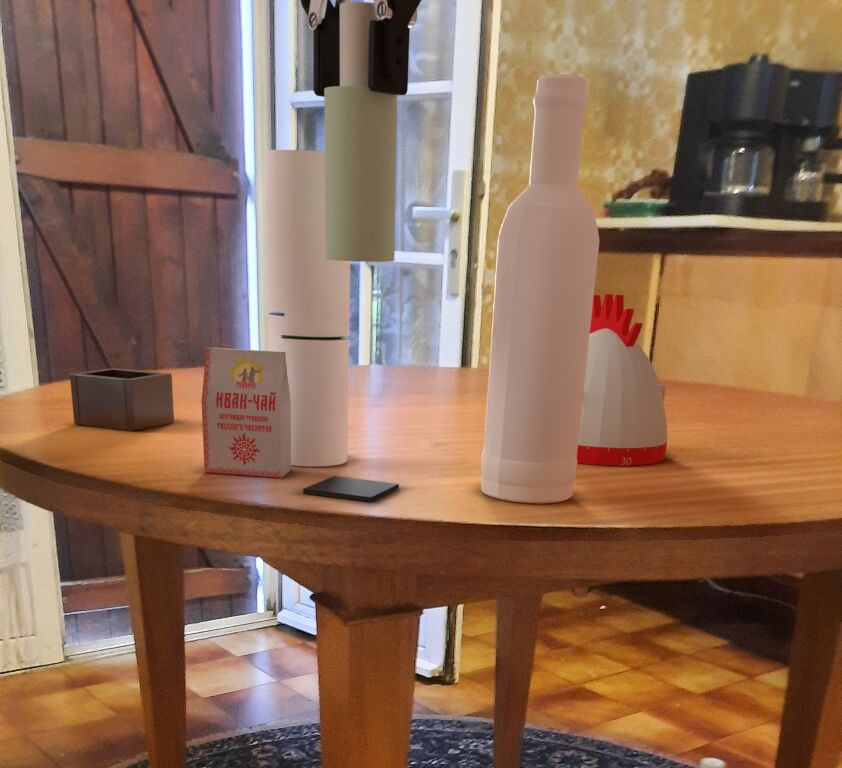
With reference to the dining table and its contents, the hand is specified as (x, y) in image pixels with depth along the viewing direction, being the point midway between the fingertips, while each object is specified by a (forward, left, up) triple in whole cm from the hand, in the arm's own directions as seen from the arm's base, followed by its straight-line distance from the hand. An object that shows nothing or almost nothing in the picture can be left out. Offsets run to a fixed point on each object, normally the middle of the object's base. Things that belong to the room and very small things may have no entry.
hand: (359, 92), depth 76 cm
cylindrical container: (-9, +10, -28) cm, 32 cm away
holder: (-34, +17, -28) cm, 48 cm away
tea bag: (-11, +2, -28) cm, 31 cm away
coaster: (0, 0, -28) cm, 28 cm away
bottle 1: (0, 0, -11) cm, 11 cm away
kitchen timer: (+14, +30, -28) cm, 44 cm away
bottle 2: (+13, +7, -28) cm, 32 cm away
